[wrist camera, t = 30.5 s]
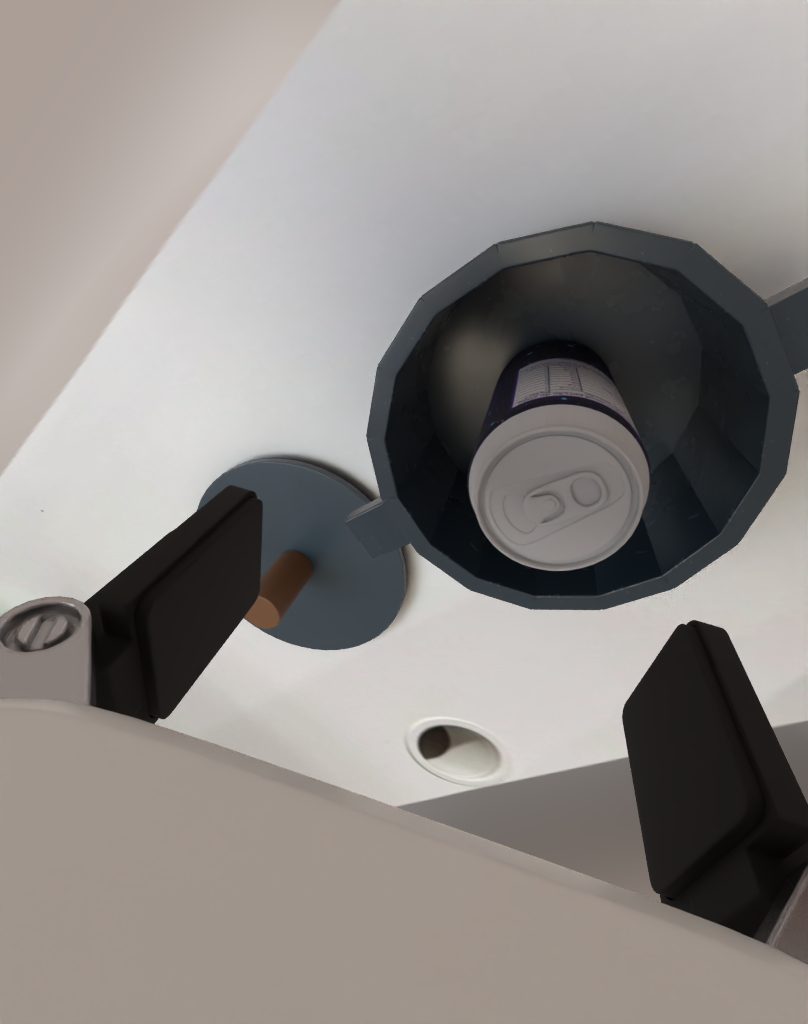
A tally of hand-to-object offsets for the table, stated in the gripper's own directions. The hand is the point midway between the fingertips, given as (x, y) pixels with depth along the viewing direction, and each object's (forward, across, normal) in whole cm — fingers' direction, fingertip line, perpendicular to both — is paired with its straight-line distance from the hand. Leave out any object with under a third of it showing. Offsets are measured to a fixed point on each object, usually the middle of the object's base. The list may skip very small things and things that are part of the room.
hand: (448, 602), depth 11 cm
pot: (+18, -3, 0) cm, 18 cm away
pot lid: (+17, +10, +15) cm, 25 cm away
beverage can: (+17, -3, 0) cm, 17 cm away
